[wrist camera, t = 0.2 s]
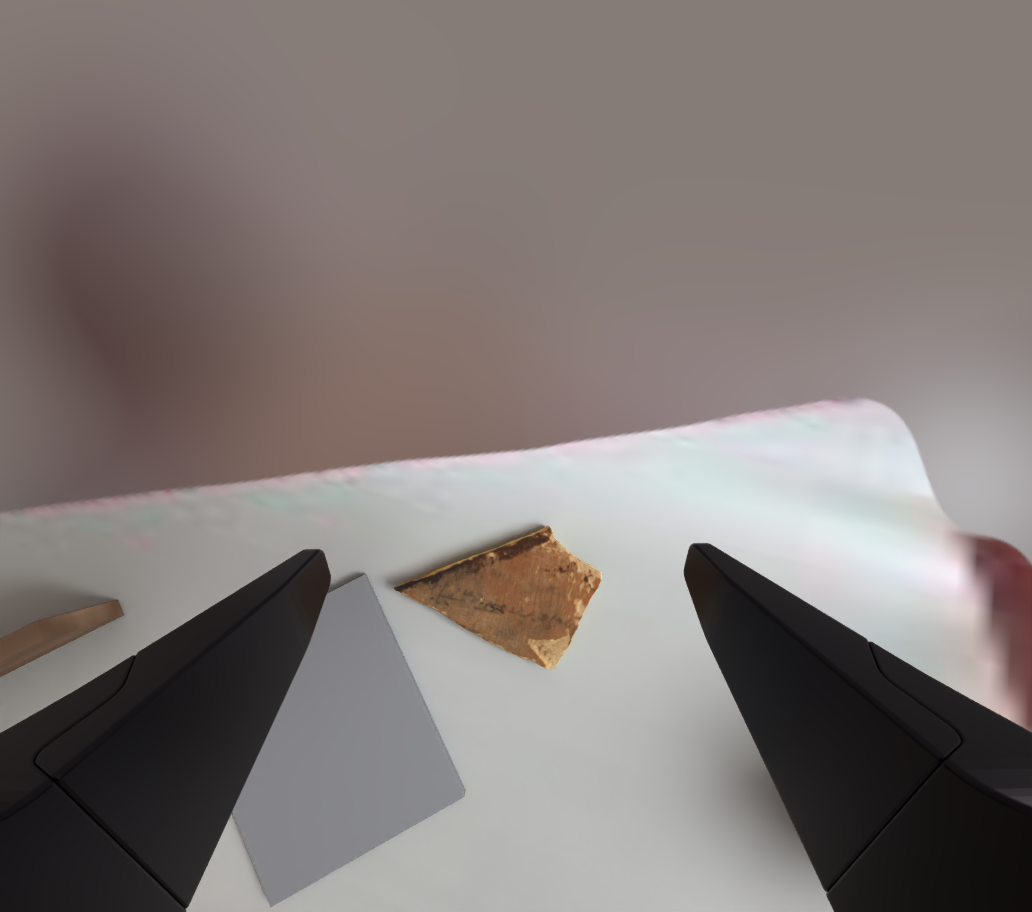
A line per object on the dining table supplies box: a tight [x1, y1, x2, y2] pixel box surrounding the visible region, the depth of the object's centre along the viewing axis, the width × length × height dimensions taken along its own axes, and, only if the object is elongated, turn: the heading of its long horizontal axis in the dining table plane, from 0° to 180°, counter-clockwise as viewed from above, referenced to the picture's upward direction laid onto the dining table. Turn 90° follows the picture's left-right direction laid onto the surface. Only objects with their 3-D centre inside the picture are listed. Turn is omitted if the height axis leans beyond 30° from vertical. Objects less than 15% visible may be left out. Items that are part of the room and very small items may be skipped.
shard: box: [394, 526, 602, 669], centre depth 23 cm, size 11×8×2 cm
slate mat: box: [232, 574, 465, 907], centre depth 22 cm, size 14×12×1 cm
